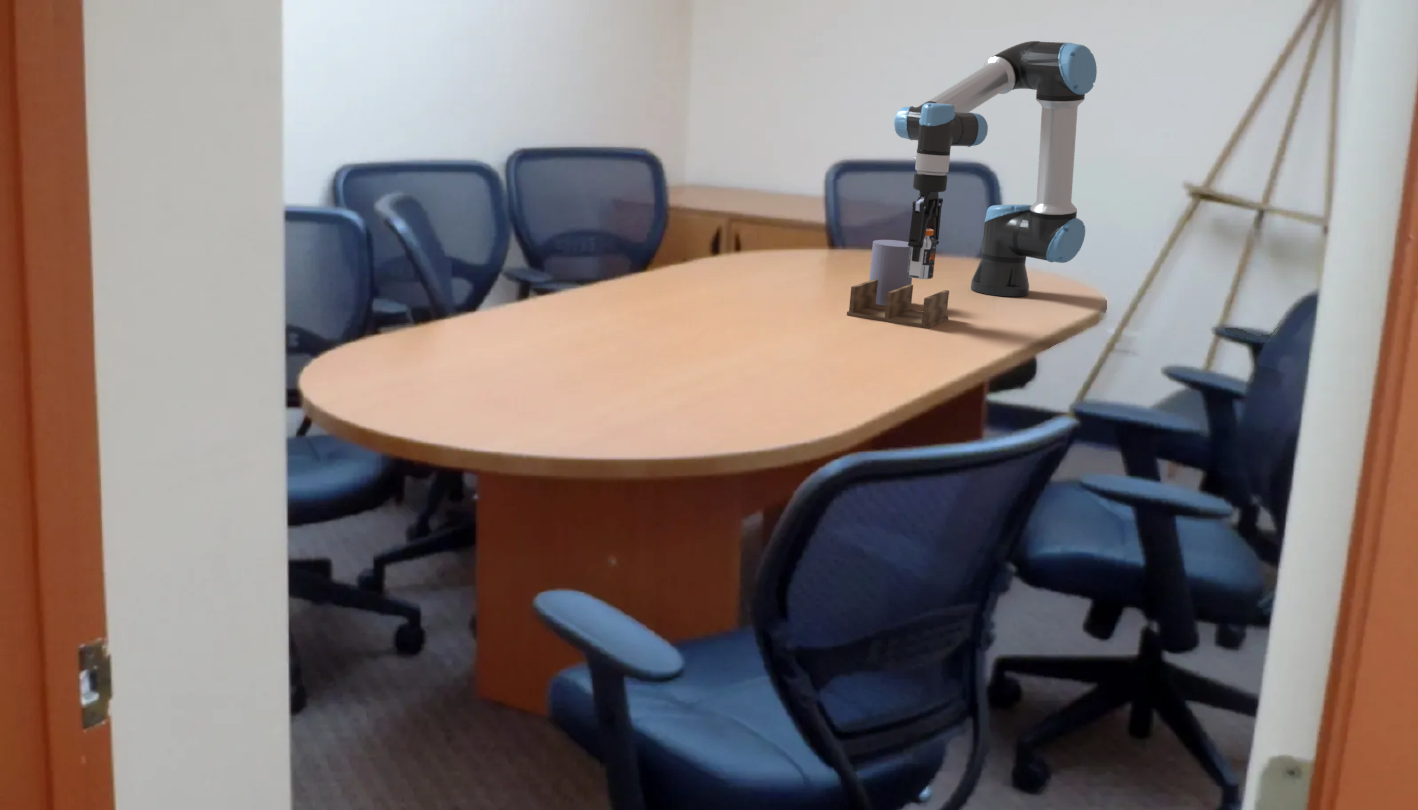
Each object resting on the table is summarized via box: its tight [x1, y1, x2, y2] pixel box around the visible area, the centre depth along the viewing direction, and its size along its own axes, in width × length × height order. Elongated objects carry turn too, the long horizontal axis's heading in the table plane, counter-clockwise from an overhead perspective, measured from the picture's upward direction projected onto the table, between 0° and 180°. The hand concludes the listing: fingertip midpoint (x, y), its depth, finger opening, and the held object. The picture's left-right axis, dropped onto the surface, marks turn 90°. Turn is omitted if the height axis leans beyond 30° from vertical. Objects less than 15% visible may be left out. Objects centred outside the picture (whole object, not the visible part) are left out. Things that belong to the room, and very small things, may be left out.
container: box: [868, 239, 913, 306], centre depth 332 cm, size 10×10×15 cm
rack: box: [846, 279, 950, 329], centre depth 317 cm, size 14×20×7 cm
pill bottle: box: [907, 228, 937, 280], centre depth 312 cm, size 6×6×11 cm
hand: (920, 273), depth 313 cm, fingers closed on pill bottle, 6 cm apart
